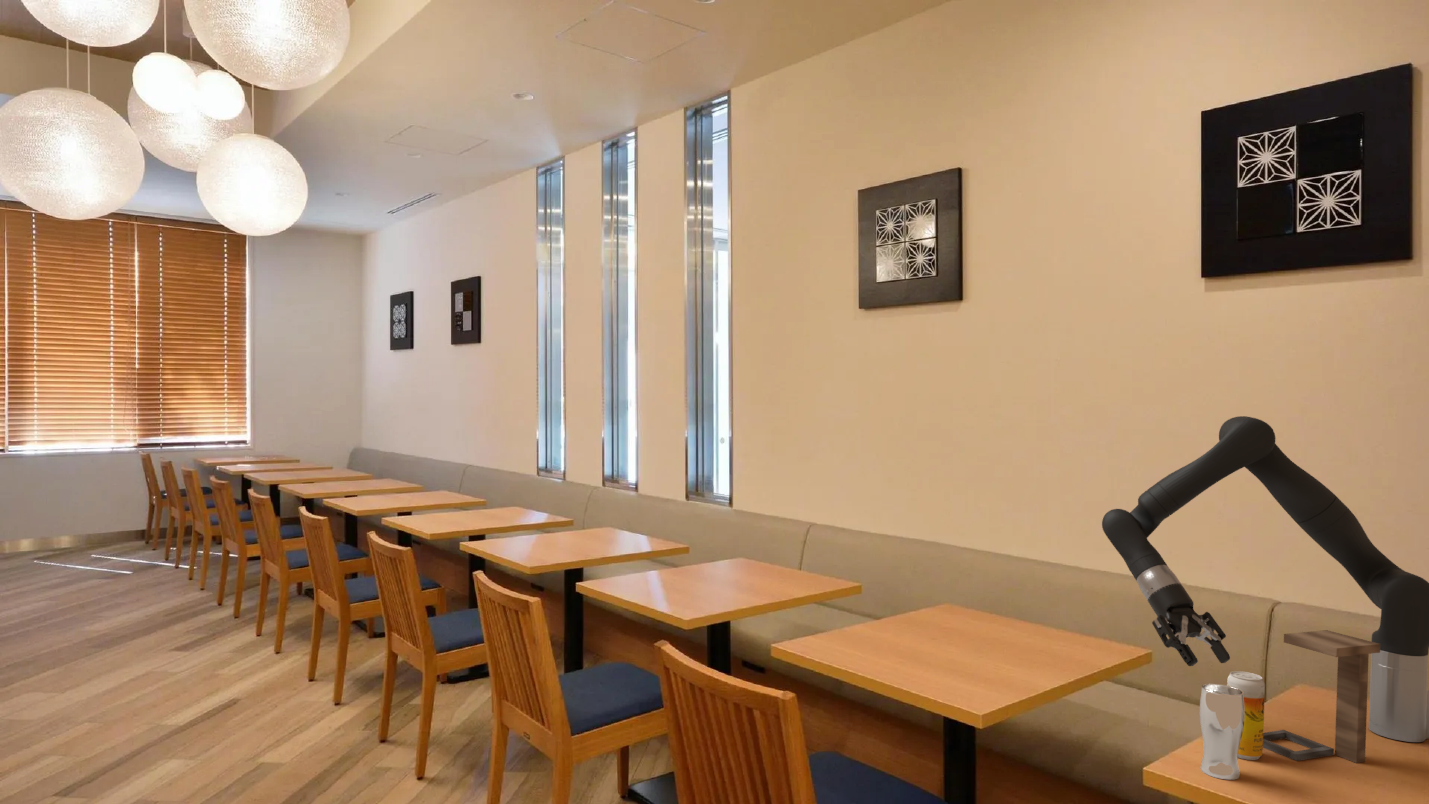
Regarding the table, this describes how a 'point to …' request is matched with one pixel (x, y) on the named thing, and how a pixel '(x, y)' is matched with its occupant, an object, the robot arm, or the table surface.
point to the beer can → (1250, 713)
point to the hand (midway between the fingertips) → (1210, 662)
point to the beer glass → (1221, 729)
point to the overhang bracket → (1348, 701)
